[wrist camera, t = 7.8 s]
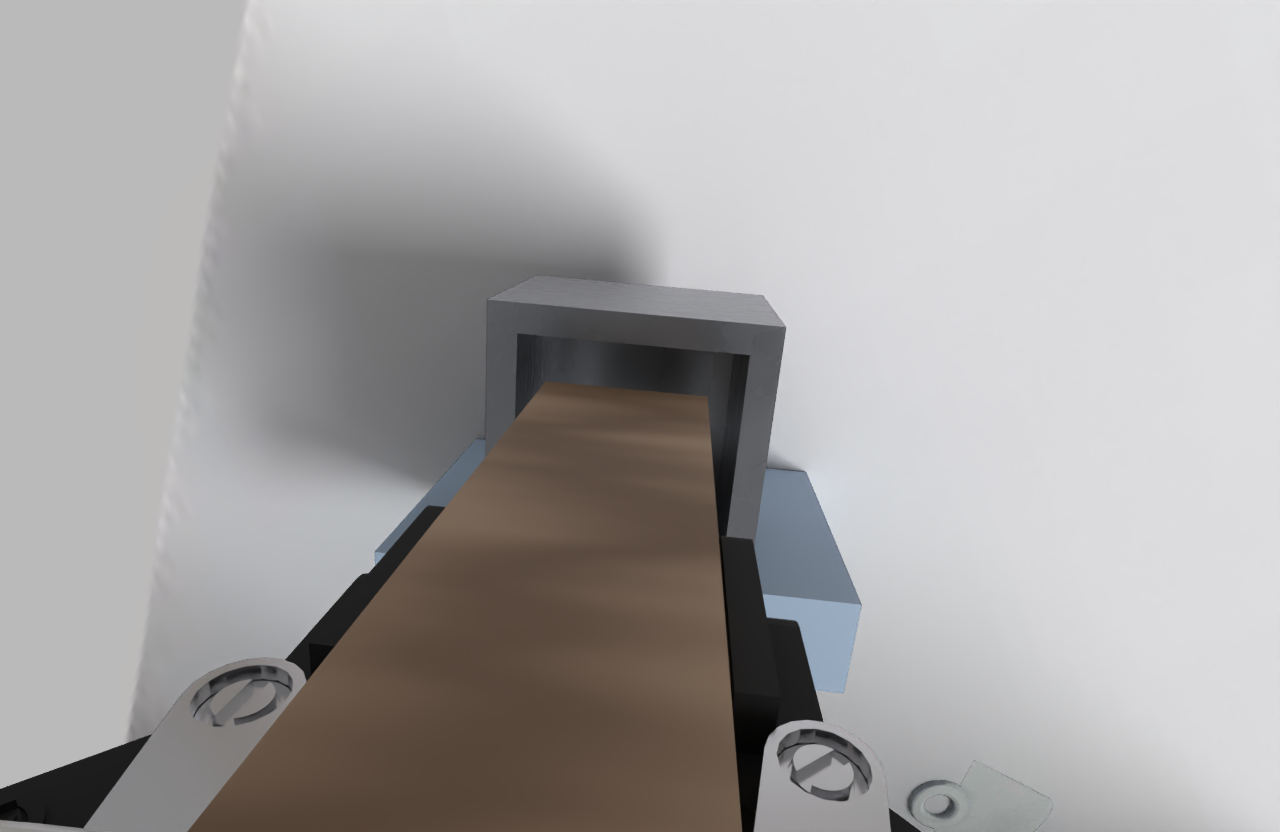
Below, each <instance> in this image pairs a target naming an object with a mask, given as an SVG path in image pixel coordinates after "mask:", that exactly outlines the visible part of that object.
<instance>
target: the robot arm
mask: <svg viewBox="0 0 1280 832" xmlns="http://www.w3.org/2000/svg"><path fill="white" fill-rule="evenodd" d="M444 509H445V507H441V506H431V505H428V506H427V507H425V509H424V510H423V511H422V512H421V513H420V514H419V516H418V517H417V518H416V519H415V520H414V521H413V522H412V524H411V525H410V526H409V527H408V528H407V529H406V531H405V532H404V533H403V534H402V535H401V536H400V538H399V539H398V540H397V541H396V542H395V543H394V545H393V546H392V547H391V548H390V549H389V550H388V552H387V553H386V554H385V555H384V556H383V557H382V558H381V560H380V561H379V562H378V563H377V564H376V565H375V567H374V568H373V569H372V570H371V571H370V572H369V574H368V573H367V574H362V575H361V576H359V577H358V578H357V579H356V580H355V581H354V582H353V583H352V585H351V586H350V587H349V588H348V589H347V590H346V591H345V593H344V594H343V595H342V596H341V597H340V598H339V599H338V601H337V602H336V603H335V604H334V605H333V606H332V607H331V608H330V610H329V611H328V612H327V613H326V614H325V615H324V616H323V618H322V619H321V620H320V621H319V622H318V623H317V624H316V626H315V627H314V628H313V629H312V630H311V631H310V632H309V633H308V635H307V636H306V637H305V638H304V639H303V640H302V641H301V643H300V644H299V645H298V646H297V647H296V648H295V649H294V650H293V652H292V653H291V654H290V655H289V656H288V657H287V658H286V660H283V659H276V658H255V659H246V660H242V661H238V662H235V663H231V664H227V665H225V666H222V667H220V668H218V669H216V670H213V671H211V672H209V673H207V674H206V675H204V676H203V677H201V678H200V679H198V680H196V681H195V682H193V683H192V684H191V685H190V686H189V687H188V688H187V689H186V690H185V691H184V692H183V694H182V695H181V696H180V697H179V699H178V700H177V701H176V703H175V704H174V705H173V707H172V708H171V709H170V711H169V712H168V714H167V715H166V716H165V718H164V719H163V720H162V722H161V723H160V724H159V726H158V727H157V729H156V730H155V731H154V733H153V734H151V735H149V736H146V737H143V738H140V739H137V740H135V741H132V742H129V743H126V744H124V745H121V746H118V747H115V748H113V749H110V750H107V751H104V752H102V753H99V754H96V755H93V756H91V757H88V758H85V759H82V760H79V761H77V762H74V763H71V764H68V765H66V766H63V767H60V768H57V769H54V770H52V771H49V772H46V773H43V774H41V775H38V776H35V777H32V778H29V779H27V780H24V781H21V782H18V783H16V784H13V785H10V786H7V787H5V788H2V789H0V832H187V831H188V830H189V829H190V828H191V826H192V825H193V824H194V823H195V821H196V820H197V819H198V818H199V816H200V815H201V814H202V813H203V811H204V810H205V809H206V807H207V806H208V805H209V804H210V802H211V801H212V800H213V799H214V797H215V796H216V795H217V794H218V792H219V791H220V790H221V789H222V787H223V786H224V785H225V784H226V782H227V781H228V780H229V779H230V777H231V776H232V775H233V774H234V772H235V771H236V770H237V769H238V767H239V766H240V765H241V764H242V762H243V761H244V760H245V759H246V757H247V756H248V755H249V753H250V752H251V751H252V750H253V748H254V747H255V746H256V745H257V743H258V742H259V741H260V740H261V738H262V737H263V736H264V735H265V733H266V732H267V731H268V730H269V728H270V727H271V726H272V725H273V723H274V722H275V721H276V720H277V718H278V717H279V716H280V715H281V713H282V712H283V711H284V710H285V708H286V707H287V706H288V704H289V703H290V702H291V701H292V699H293V698H294V697H295V696H296V694H297V693H298V692H299V691H300V689H301V688H302V687H303V686H304V684H305V683H306V682H307V681H308V679H309V678H310V677H311V676H312V674H313V673H314V672H315V671H316V669H317V668H318V667H319V666H320V664H321V663H322V662H323V661H324V659H325V658H326V657H327V656H328V654H329V653H330V652H331V650H332V649H333V648H334V647H335V645H336V644H337V643H338V642H339V640H340V639H341V638H342V637H343V635H344V634H345V633H346V632H347V630H348V629H349V628H350V627H351V625H352V624H353V623H354V622H355V620H356V619H357V618H358V617H359V615H360V614H361V613H362V612H363V610H364V609H365V608H366V607H367V605H368V604H369V603H370V601H371V600H372V599H373V598H374V596H375V595H376V594H377V593H378V591H379V590H380V589H381V588H382V586H383V585H384V584H385V583H386V581H387V580H388V579H389V578H390V576H391V575H392V574H393V573H394V571H395V570H396V569H397V568H398V566H399V565H400V564H401V563H402V561H403V560H404V559H405V558H406V556H407V555H408V554H409V553H410V551H411V550H412V549H413V547H414V546H415V545H416V544H417V542H418V541H419V540H420V539H421V537H422V536H423V535H424V534H425V532H426V531H427V530H428V529H429V527H430V526H431V525H432V524H433V522H434V521H435V520H436V519H437V517H438V516H439V515H440V514H441V512H442V511H443V510H444ZM719 547H720V560H721V572H722V585H723V597H724V610H725V622H726V635H727V648H728V660H729V673H730V685H731V698H732V710H733V723H734V735H735V748H736V760H737V773H738V785H739V798H740V811H741V823H742V832H921V831H919V830H918V829H917V828H915V827H914V826H913V825H911V824H910V823H909V822H907V821H906V820H905V819H903V818H902V817H900V816H899V815H898V814H896V813H895V812H894V811H892V810H891V809H890V808H889V806H888V796H887V785H886V777H885V774H884V770H883V767H882V764H881V762H880V761H879V759H878V758H877V757H876V755H875V754H874V752H873V751H872V750H871V749H870V748H869V747H868V746H867V745H866V744H865V743H864V742H863V741H861V740H860V739H859V738H858V737H856V736H854V735H853V734H851V733H849V732H848V731H846V730H844V729H842V728H840V727H837V726H834V725H831V724H828V723H825V722H823V719H822V715H821V711H820V707H819V703H818V699H817V695H816V691H815V687H814V683H813V679H812V675H811V671H810V667H809V663H808V659H807V655H806V651H805V647H804V643H803V639H802V635H801V631H800V627H799V624H798V622H797V621H795V620H788V619H778V618H769V617H767V616H766V610H765V605H764V599H763V593H762V588H761V582H760V577H759V571H758V565H757V560H756V554H755V548H754V543H753V539H746V538H736V537H727V536H720V539H719Z"/></svg>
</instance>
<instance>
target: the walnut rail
mask: <svg viewBox="0 0 1280 832" xmlns="http://www.w3.org/2000/svg"><path fill="white" fill-rule="evenodd" d="M187 832H742V823H741V811H740V798H739V785H738V773H737V760H736V748H735V735H734V723H733V710H732V698H731V685H730V673H729V660H728V648H727V635H726V622H725V610H724V597H723V585H722V572H721V560H720V547H719V535H718V522H717V510H716V497H715V485H714V472H713V459H712V447H711V434H710V422H709V409H708V397H705V396H695V395H684V394H674V393H664V392H653V391H643V390H632V389H622V388H611V387H601V386H591V385H580V384H570V383H559V382H549V381H546V382H545V383H544V384H543V385H542V387H541V388H540V389H539V390H538V392H537V393H536V394H535V395H534V397H533V398H532V399H531V401H530V402H529V403H528V404H527V406H526V407H525V408H524V409H523V411H522V412H521V413H520V414H519V416H518V417H517V418H516V419H515V421H514V422H513V423H512V424H511V426H510V427H509V428H508V429H507V431H506V432H505V433H504V434H503V436H502V437H501V438H500V439H499V441H498V442H497V443H496V444H495V446H494V447H493V448H492V450H491V451H490V452H489V453H488V455H487V456H486V457H485V458H484V460H483V461H482V462H481V463H480V465H479V466H478V467H477V468H476V470H475V471H474V472H473V473H472V475H471V476H470V477H469V478H468V480H467V481H466V482H465V483H464V485H463V486H462V487H461V488H460V490H459V491H458V492H457V493H456V495H455V496H454V497H453V498H452V500H451V501H450V502H449V504H448V505H447V506H446V507H445V509H444V510H443V511H442V512H441V514H440V515H439V516H438V517H437V519H436V520H435V521H434V522H433V524H432V525H431V526H430V527H429V529H428V530H427V531H426V532H425V534H424V535H423V536H422V537H421V539H420V540H419V541H418V542H417V544H416V545H415V546H414V547H413V549H412V550H411V551H410V553H409V554H408V555H407V556H406V558H405V559H404V560H403V561H402V563H401V564H400V565H399V566H398V568H397V569H396V570H395V571H394V573H393V574H392V575H391V576H390V578H389V579H388V580H387V581H386V583H385V584H384V585H383V586H382V588H381V589H380V590H379V591H378V593H377V594H376V595H375V596H374V598H373V599H372V600H371V601H370V603H369V604H368V605H367V607H366V608H365V609H364V610H363V612H362V613H361V614H360V615H359V617H358V618H357V619H356V620H355V622H354V623H353V624H352V625H351V627H350V628H349V629H348V630H347V632H346V633H345V634H344V635H343V637H342V638H341V639H340V640H339V642H338V643H337V644H336V645H335V647H334V648H333V649H332V650H331V652H330V653H329V654H328V656H327V657H326V658H325V659H324V661H323V662H322V663H321V664H320V666H319V667H318V668H317V669H316V671H315V672H314V673H313V674H312V676H311V677H310V678H309V679H308V681H307V682H306V683H305V684H304V686H303V687H302V688H301V689H300V691H299V692H298V693H297V694H296V696H295V697H294V698H293V699H292V701H291V702H290V703H289V704H288V706H287V707H286V708H285V710H284V711H283V712H282V713H281V715H280V716H279V717H278V718H277V720H276V721H275V722H274V723H273V725H272V726H271V727H270V728H269V730H268V731H267V732H266V733H265V735H264V736H263V737H262V738H261V740H260V741H259V742H258V743H257V745H256V746H255V747H254V748H253V750H252V751H251V752H250V753H249V755H248V756H247V757H246V759H245V760H244V761H243V762H242V764H241V765H240V766H239V767H238V769H237V770H236V771H235V772H234V774H233V775H232V776H231V777H230V779H229V780H228V781H227V782H226V784H225V785H224V786H223V787H222V789H221V790H220V791H219V792H218V794H217V795H216V796H215V797H214V799H213V800H212V801H211V802H210V804H209V805H208V806H207V807H206V809H205V810H204V811H203V813H202V814H201V815H200V816H199V818H198V819H197V820H196V821H195V823H194V824H193V825H192V826H191V828H190V829H189V830H188V831H187Z"/></svg>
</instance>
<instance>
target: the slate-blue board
mask: <svg viewBox="0 0 1280 832" xmlns="http://www.w3.org/2000/svg"><path fill="white" fill-rule="evenodd" d="M484 458H485V440H482V439H476V440H475V441H474V442H473V443H472V444H471V445H470V446H469V448H468V449H467V450H466V451H465V452H464V453H463V454H462V455H461V456H460V458H459V459H458V460H457V461H456V462H455V463H454V464H453V465H452V466H451V468H450V469H449V470H448V471H447V472H446V473H445V474H444V475H443V476H442V478H441V479H440V480H439V481H438V482H437V483H436V484H435V485H434V486H433V488H432V489H431V490H430V491H429V492H428V493H427V494H426V495H425V496H424V498H423V499H422V500H421V501H420V502H419V503H418V504H417V505H416V507H415V508H414V509H413V510H412V511H411V512H410V513H409V514H408V515H407V517H406V518H405V519H404V520H403V521H402V522H401V523H400V524H399V525H398V527H397V528H396V529H395V530H394V531H393V532H392V533H391V534H390V535H389V537H388V538H387V539H386V540H385V541H384V542H383V543H382V544H381V545H380V547H379V548H378V549H377V550H376V551H375V565H376V564H377V563H378V562H379V561H380V560H381V558H382V557H383V556H384V555H385V554H386V553H387V552H388V550H389V549H390V548H391V547H392V546H393V545H394V543H395V542H396V541H397V540H398V539H399V538H400V536H401V535H402V534H403V533H404V532H405V531H406V529H407V528H408V527H409V526H410V525H411V524H412V522H413V521H414V520H415V519H416V518H417V517H418V516H419V514H420V513H421V512H422V511H423V510H424V509H425V507H427V506H428V505H431V506H441V507H446V506H447V505H448V504H449V502H450V501H451V500H452V498H453V497H454V496H455V495H456V493H457V492H458V491H459V490H460V488H461V487H462V486H463V485H464V483H465V482H466V481H467V480H468V478H469V477H470V476H471V475H472V473H473V472H474V471H475V470H476V468H477V467H478V466H479V465H480V463H481V462H482V461H483V460H484ZM754 548H755V554H756V560H757V565H758V571H759V577H760V582H761V588H762V593H763V599H764V605H765V610H766V616H767V617H769V618H778V619H788V620H795V621H797V622H798V624H799V627H800V631H801V635H802V639H803V643H804V647H805V651H806V655H807V659H808V663H809V667H810V671H811V675H812V679H813V683H814V687H815V690H818V691H827V692H835V693H844V690H845V685H846V680H847V675H848V670H849V665H850V660H851V655H852V650H853V645H854V640H855V636H856V631H857V626H858V621H859V616H860V611H861V606H862V604H861V602H860V600H859V597H858V595H857V592H856V590H855V588H854V585H853V583H852V580H851V578H850V576H849V573H848V571H847V568H846V566H845V564H844V561H843V559H842V556H841V554H840V552H839V549H838V547H837V545H836V542H835V540H834V537H833V535H832V533H831V530H830V528H829V525H828V523H827V521H826V518H825V516H824V513H823V511H822V509H821V506H820V504H819V501H818V499H817V497H816V494H815V492H814V489H813V487H812V485H811V482H810V480H809V478H808V475H807V473H806V472H800V471H790V470H780V469H770V468H766V470H765V477H764V484H763V491H762V497H761V504H760V511H759V518H758V525H757V532H756V539H755V546H754Z"/></svg>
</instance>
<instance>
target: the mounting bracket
mask: <svg viewBox="0 0 1280 832" xmlns="http://www.w3.org/2000/svg"><path fill="white" fill-rule="evenodd" d="M934 795H945V796H948V797H949V798H951V799H952V801H951V803H950V806H949V807H948V809H947V810H946V811H945V813H943V814H931V813H929V812H928V811H926V810H925V808H924V804H925V802H926V800H927V799H928V798H930V797H931V796H934ZM909 809H910V811H911V813H912V815H913V817H914V818H915V819H916V820H918V821H919V822H920V823H921V824H923V825H925V826H928V827H931V828H936V829H935V831H934V832H1034V831H1035V830H1036V829H1037V828H1038V827H1039V826H1040V825H1041V824H1042V823H1043V822H1044V821H1045V820H1046V819H1047V818H1048V817H1049V815H1050V814H1051V811H1052V802H1051V800H1050V798H1048V797H1046V796H1044V795H1042V794H1040V793H1038V792H1036V791H1034V790H1032V789H1030V788H1028V787H1026V786H1024V785H1023V784H1021V783H1019V782H1017V781H1015V780H1013V779H1011V778H1009V777H1007V776H1005V775H1003V774H1001V773H999V772H997V771H995V770H993V769H991V768H989V767H987V766H985V765H983V764H981V763H979V762H977V761H975V760H974V762H973V763H972V765H971V767H970V769H969V771H968V772H967V774H966V776H965V778H964V779H963V781H962V783H961V785H960V786H958V785H957V784H956V783H952V782H949V781H946V780H934V781H930V782H927V783H924V784H922V785H920V786H919V787H918V788H917V789H915V790H914V791H913V793H912V795H911V797H910V798H909Z"/></svg>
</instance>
